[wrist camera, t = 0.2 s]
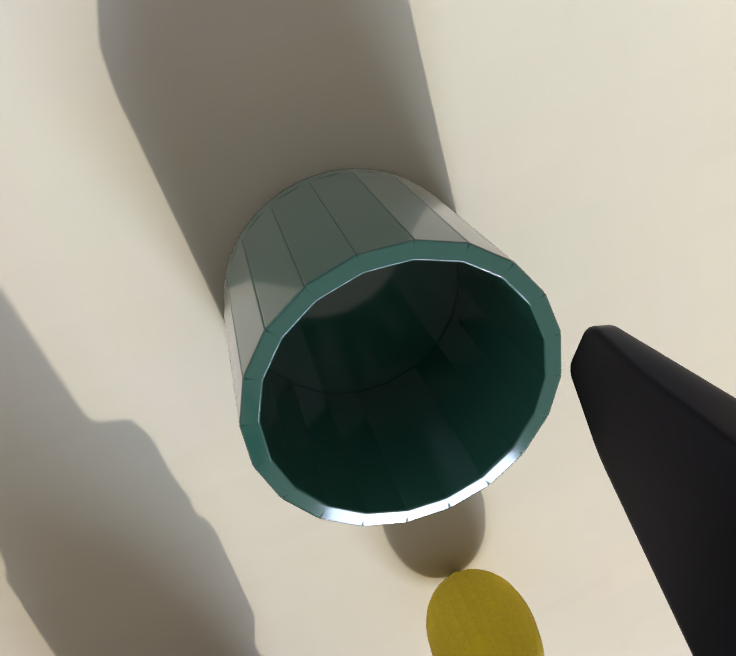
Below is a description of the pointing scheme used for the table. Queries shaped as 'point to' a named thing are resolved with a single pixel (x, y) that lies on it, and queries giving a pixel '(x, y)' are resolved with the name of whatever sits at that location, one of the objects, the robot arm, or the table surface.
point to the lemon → (480, 618)
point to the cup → (382, 350)
